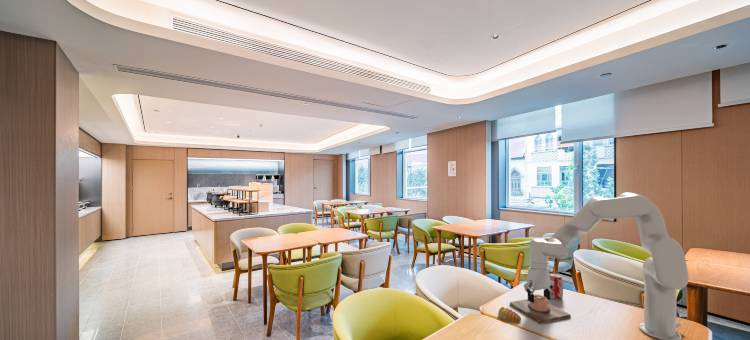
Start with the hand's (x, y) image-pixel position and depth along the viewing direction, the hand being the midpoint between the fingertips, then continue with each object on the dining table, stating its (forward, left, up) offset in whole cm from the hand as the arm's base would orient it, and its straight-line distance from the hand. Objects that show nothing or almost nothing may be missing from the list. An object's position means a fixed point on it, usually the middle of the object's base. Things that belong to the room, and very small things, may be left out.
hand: (538, 300), depth 138 cm
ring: (0, 0, -4) cm, 4 cm away
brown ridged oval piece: (+18, 0, -6) cm, 19 cm away
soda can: (-20, -9, -6) cm, 23 cm away
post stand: (0, 0, -5) cm, 5 cm away
